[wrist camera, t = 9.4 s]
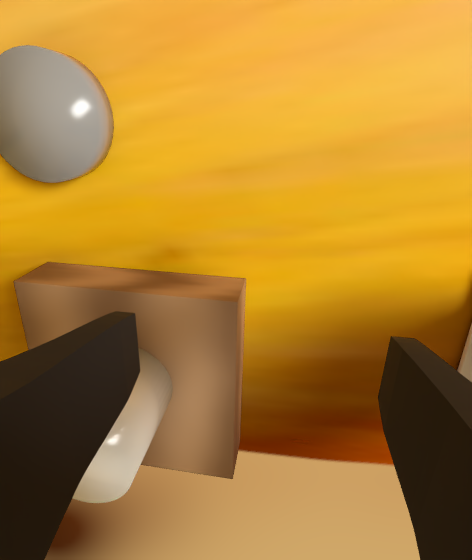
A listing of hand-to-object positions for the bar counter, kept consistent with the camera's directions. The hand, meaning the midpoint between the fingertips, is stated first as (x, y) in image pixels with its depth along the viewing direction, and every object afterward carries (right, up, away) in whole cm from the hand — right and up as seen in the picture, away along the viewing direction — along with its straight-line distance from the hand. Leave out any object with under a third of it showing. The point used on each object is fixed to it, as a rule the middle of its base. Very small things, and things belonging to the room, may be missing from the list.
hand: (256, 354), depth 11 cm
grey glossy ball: (-10, +10, +9) cm, 17 cm away
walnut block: (-6, -3, +14) cm, 15 cm away
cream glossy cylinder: (-7, -4, +11) cm, 13 cm away
